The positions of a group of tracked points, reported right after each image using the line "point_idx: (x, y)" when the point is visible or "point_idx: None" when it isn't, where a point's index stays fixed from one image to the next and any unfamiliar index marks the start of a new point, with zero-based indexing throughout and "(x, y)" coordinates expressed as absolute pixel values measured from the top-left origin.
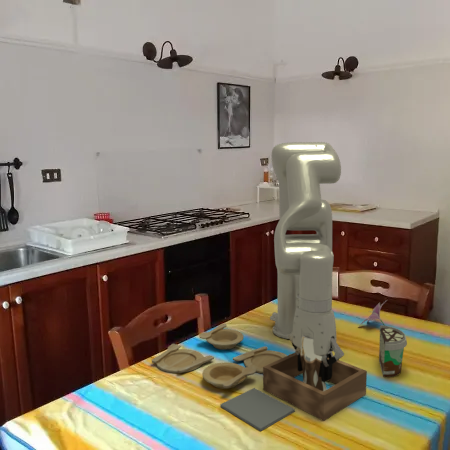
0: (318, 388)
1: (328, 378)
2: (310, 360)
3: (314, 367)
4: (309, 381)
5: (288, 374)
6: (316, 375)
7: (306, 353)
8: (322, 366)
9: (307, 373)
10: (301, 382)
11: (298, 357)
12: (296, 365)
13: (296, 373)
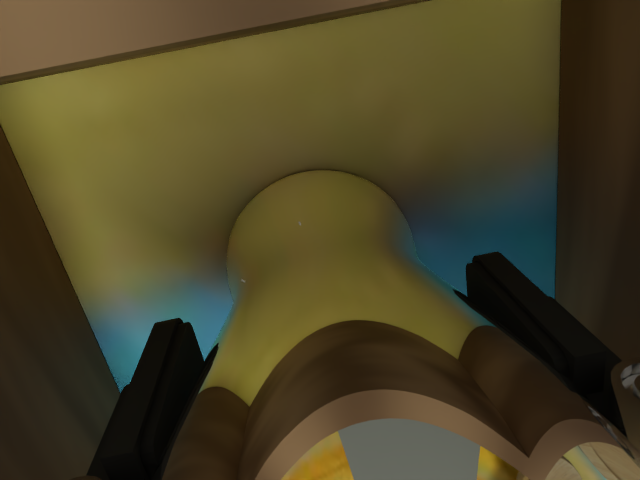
0: (236, 269)
1: (129, 384)
2: (241, 392)
3: (213, 357)
4: (291, 237)
5: (587, 222)
6: (228, 317)
7: (339, 464)
8: (119, 449)
9: (310, 257)
10: (132, 21)
11: (577, 341)
12: (611, 333)
13: (567, 296)
